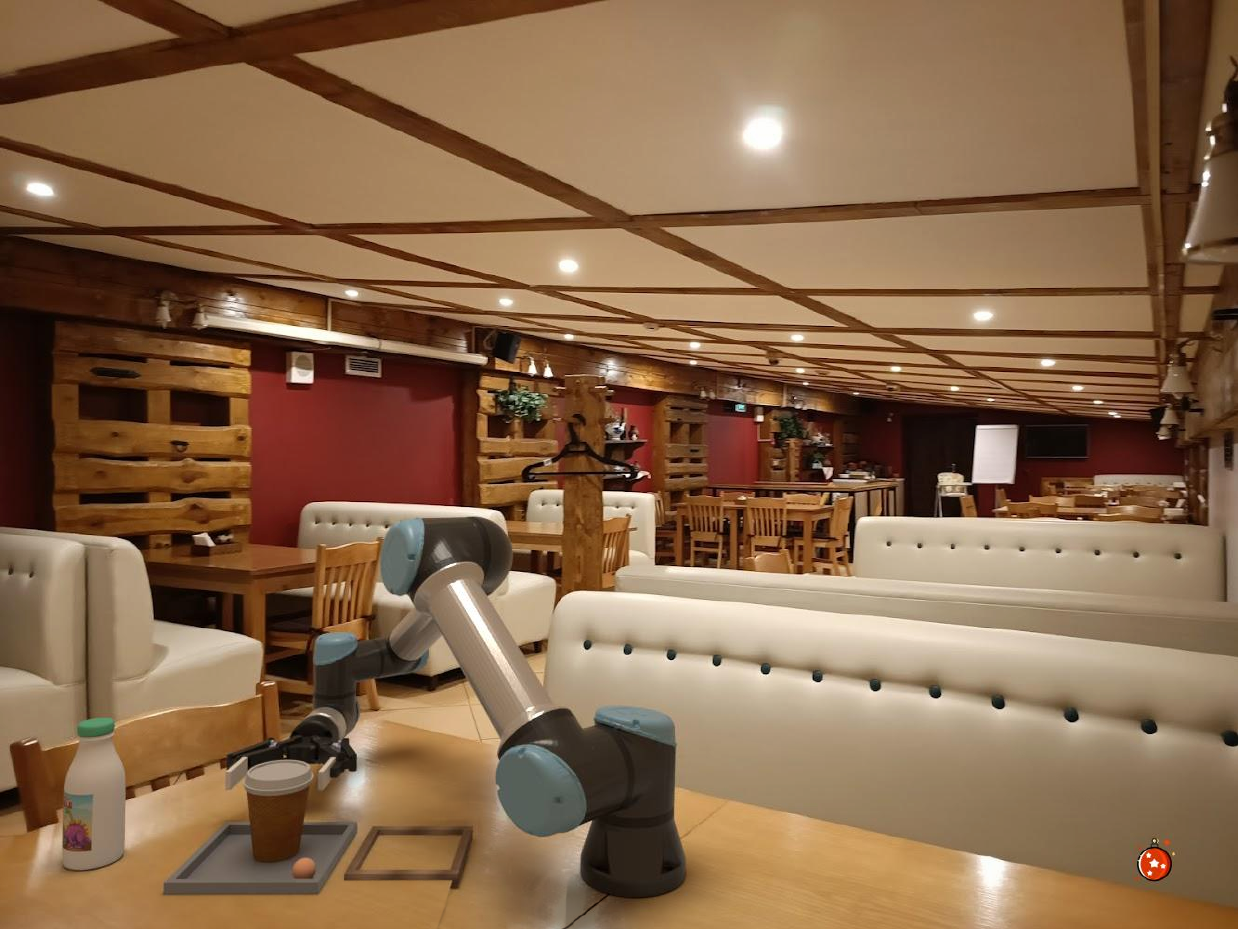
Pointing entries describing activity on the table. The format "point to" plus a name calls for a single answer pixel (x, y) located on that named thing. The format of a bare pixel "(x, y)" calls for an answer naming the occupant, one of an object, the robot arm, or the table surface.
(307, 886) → the tray
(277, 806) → the disposable coffee cup
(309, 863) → the ball
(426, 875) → the frame
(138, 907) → the table surface
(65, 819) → the milk bottle
